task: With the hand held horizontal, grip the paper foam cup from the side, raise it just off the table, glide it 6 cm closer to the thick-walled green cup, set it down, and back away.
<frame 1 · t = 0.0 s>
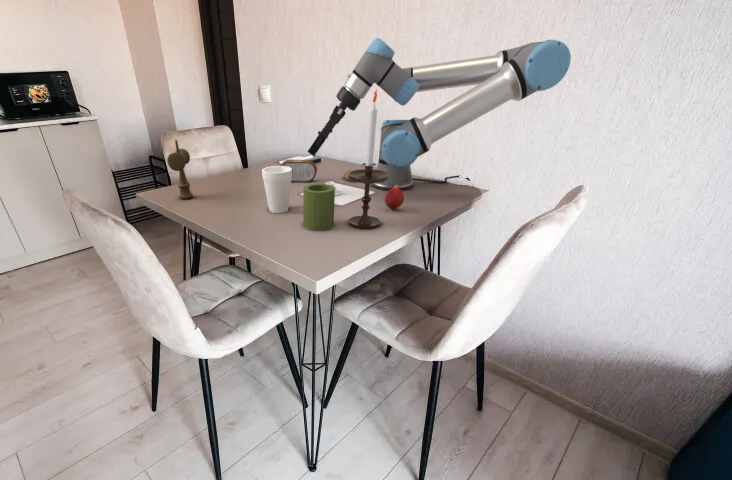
hand: (313, 149, 129), 15 cm above the table, tool tilted 35°, fingers open, 13 cm apart
teacup and saucer: (337, 193, 137), on the table
kendama: (186, 198, 138), on the table
cookie: (355, 179, 154), on the table
candlestick: (364, 224, 111), on the table
tin: (298, 181, 152), on the table
onion: (392, 210, 120), on the table
thick-walled green cup: (318, 224, 111), on the table
foam cup: (278, 210, 124), on the table
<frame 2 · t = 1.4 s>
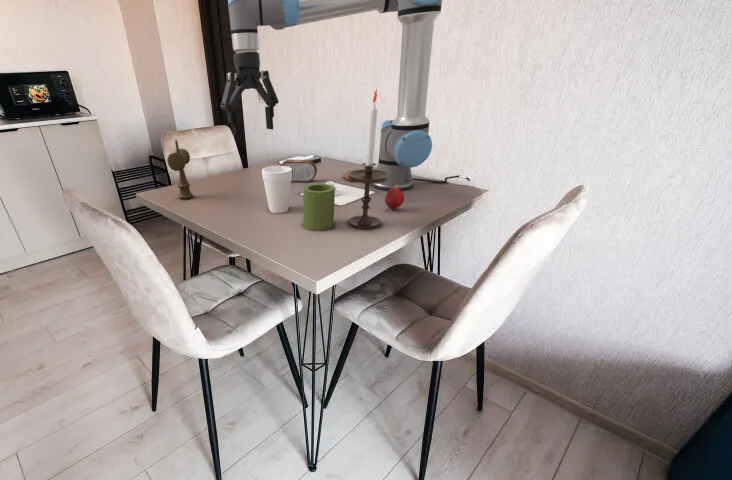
hand: (253, 131, 119), 23 cm above the table, tool pointing down, fingers open, 13 cm apart
nothing on the table moved.
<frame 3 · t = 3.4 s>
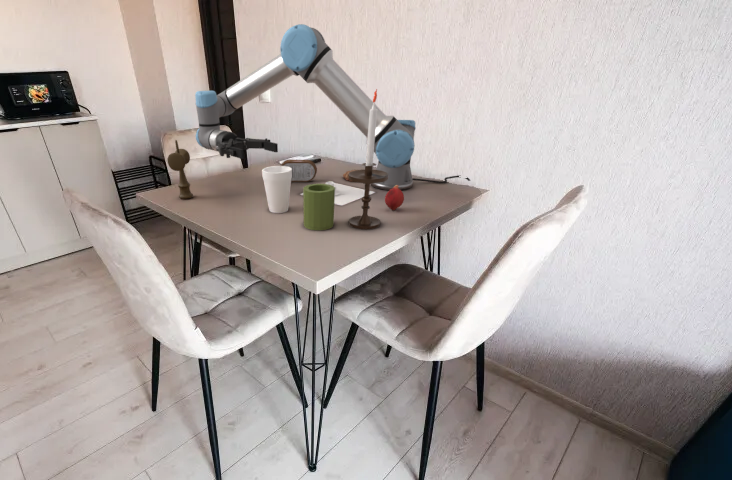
hand: (260, 151, 120), 17 cm above the table, tool horizontal, fingers open, 13 cm apart
nothing on the table moved.
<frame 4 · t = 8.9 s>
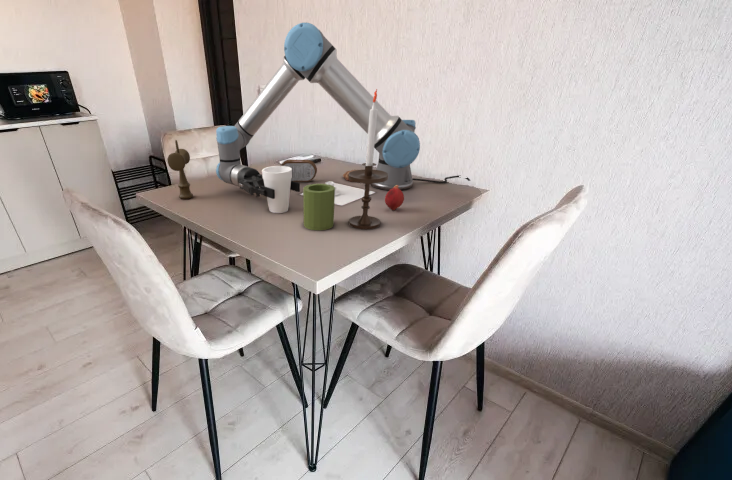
hand: (286, 190, 117), 7 cm above the table, tool horizontal, fingers closed on foam cup, 9 cm apart
foam cup: (278, 210, 124), on the table, touching gripper
everything else where it was.
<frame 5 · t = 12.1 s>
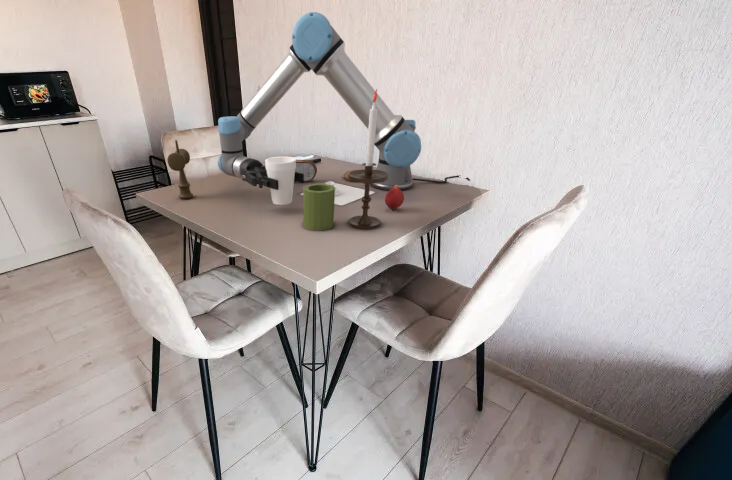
hand: (290, 181, 114), 10 cm above the table, tool horizontal, fingers closed on foam cup, 9 cm apart
foam cup: (282, 202, 121), point 3 cm above the table, touching gripper
everything else where it was.
when the fingers open (7 cm above the table, at t = 15.6 s): foam cup stays where it is, on the table.
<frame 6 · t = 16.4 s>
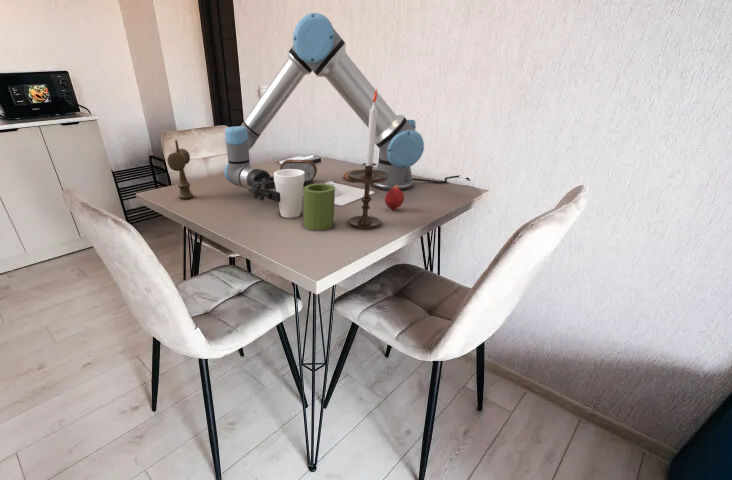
hand: (296, 192, 113), 8 cm above the table, tool horizontal, fingers open, 13 cm apart
foam cup: (290, 214, 120), on the table
everything else where it was.
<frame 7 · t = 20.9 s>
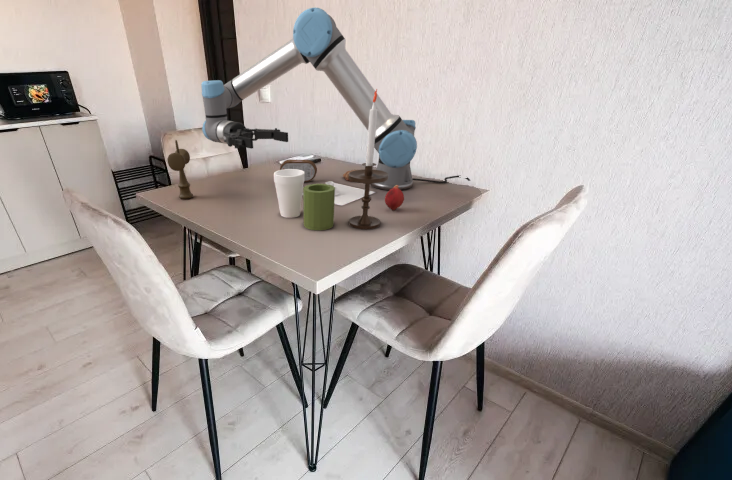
hand: (270, 140, 114), 21 cm above the table, tool horizontal, fingers open, 13 cm apart
nothing on the table moved.
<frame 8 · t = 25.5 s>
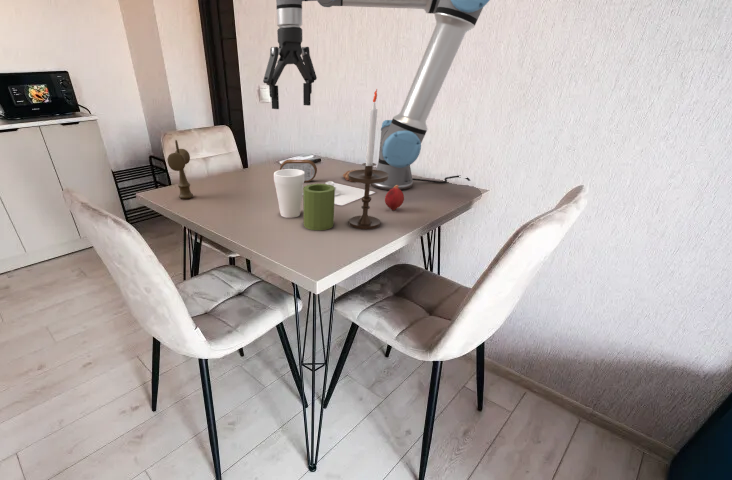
hand: (291, 107, 123), 29 cm above the table, tool pointing down, fingers open, 13 cm apart
nothing on the table moved.
at the end: foam cup 13.0 cm from the thick-walled green cup (horizontally); foam cup tilted 0°; foam cup moved 6.0 cm from its start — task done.
